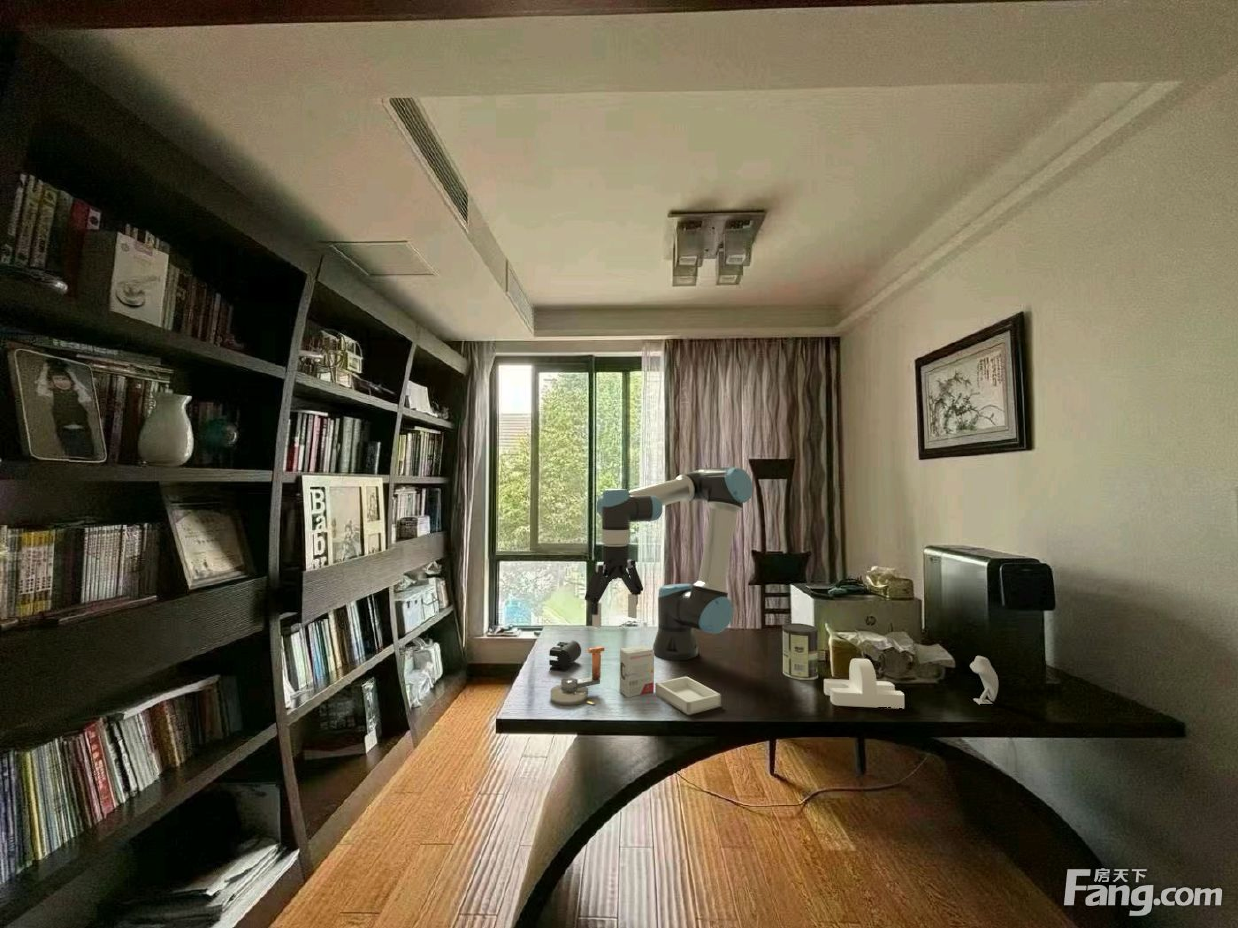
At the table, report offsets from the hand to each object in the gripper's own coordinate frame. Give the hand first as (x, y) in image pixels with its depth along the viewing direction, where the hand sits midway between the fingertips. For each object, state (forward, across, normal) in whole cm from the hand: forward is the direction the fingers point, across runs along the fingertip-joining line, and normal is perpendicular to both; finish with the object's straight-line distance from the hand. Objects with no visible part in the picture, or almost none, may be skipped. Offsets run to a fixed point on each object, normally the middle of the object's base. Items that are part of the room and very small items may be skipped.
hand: (615, 621), depth 142 cm
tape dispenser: (+20, -46, +49) cm, 70 cm away
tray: (+19, -10, +17) cm, 28 cm away
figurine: (+20, -67, +72) cm, 101 cm away
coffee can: (+20, -51, +28) cm, 62 cm away
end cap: (+19, -3, -26) cm, 32 cm away
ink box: (+19, -4, +4) cm, 20 cm away
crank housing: (+19, +12, -4) cm, 23 cm away
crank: (+17, +8, -4) cm, 19 cm away
